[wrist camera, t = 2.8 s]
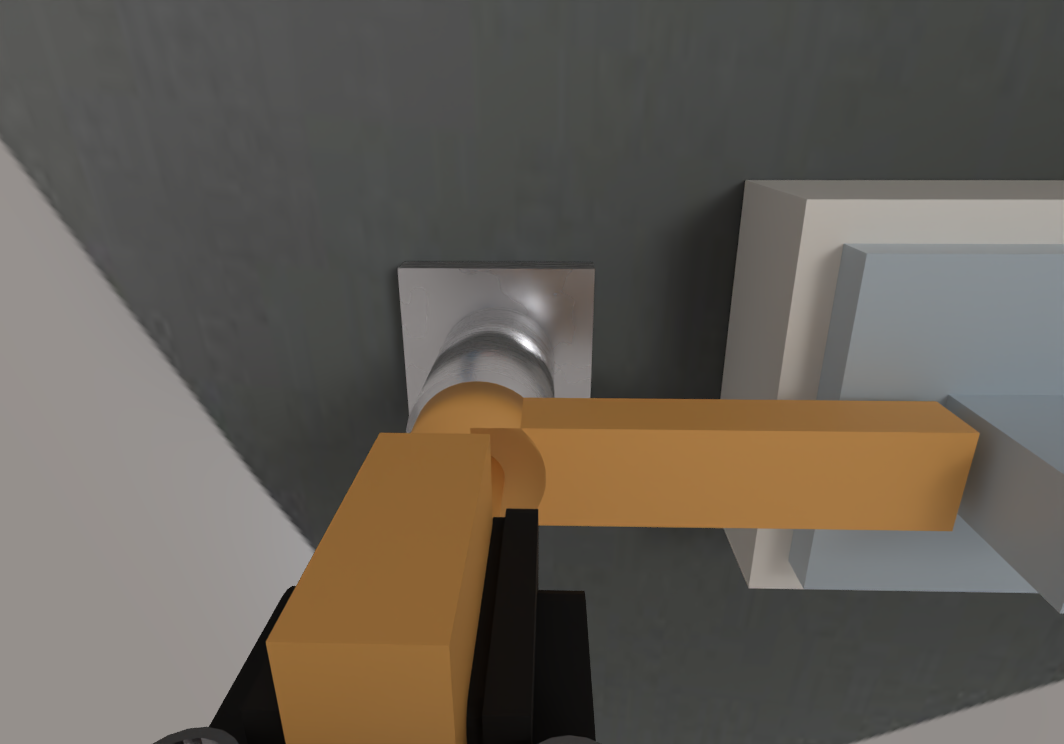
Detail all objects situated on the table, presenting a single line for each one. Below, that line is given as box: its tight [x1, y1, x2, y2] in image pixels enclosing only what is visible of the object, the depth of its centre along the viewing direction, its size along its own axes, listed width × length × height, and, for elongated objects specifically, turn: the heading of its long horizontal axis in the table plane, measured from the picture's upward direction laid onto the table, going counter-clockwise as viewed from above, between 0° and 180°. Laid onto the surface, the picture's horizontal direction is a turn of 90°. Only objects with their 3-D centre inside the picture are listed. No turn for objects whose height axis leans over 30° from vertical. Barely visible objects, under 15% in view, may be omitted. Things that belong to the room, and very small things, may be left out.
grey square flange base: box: [398, 261, 595, 433], centre depth 19 cm, size 6×6×6 cm
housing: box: [720, 180, 1064, 593], centre depth 19 cm, size 11×11×5 cm
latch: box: [266, 381, 980, 744], centre depth 11 cm, size 12×6×9 cm, turn 90°
